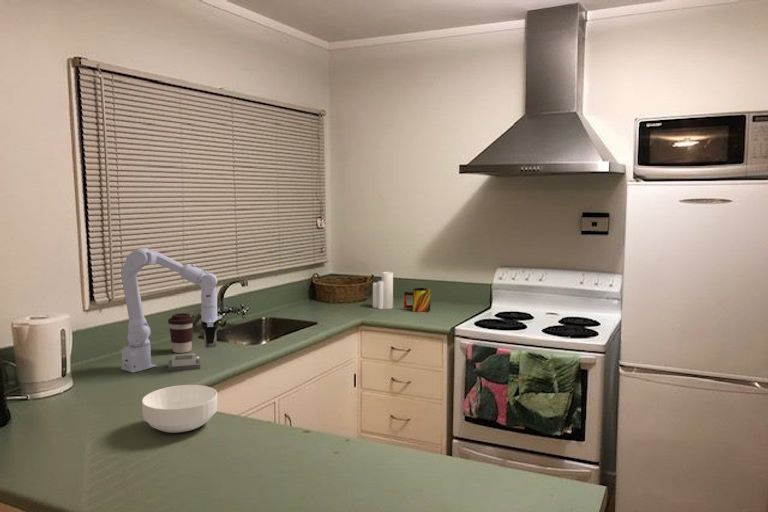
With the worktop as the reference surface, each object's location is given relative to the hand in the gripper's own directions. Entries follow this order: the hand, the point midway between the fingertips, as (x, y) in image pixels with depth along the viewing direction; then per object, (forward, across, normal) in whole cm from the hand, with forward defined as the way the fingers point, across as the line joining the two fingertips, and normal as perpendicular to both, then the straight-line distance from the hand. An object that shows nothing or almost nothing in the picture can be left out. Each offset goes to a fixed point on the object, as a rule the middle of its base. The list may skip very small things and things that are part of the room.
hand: (210, 341), depth 219 cm
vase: (+8, +86, -96) cm, 129 cm away
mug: (+8, +72, -112) cm, 133 cm away
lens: (+2, 0, 0) cm, 2 cm away
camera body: (+9, 0, +9) cm, 13 cm away
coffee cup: (+9, +23, +10) cm, 27 cm away
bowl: (+9, -58, +10) cm, 59 cm away
